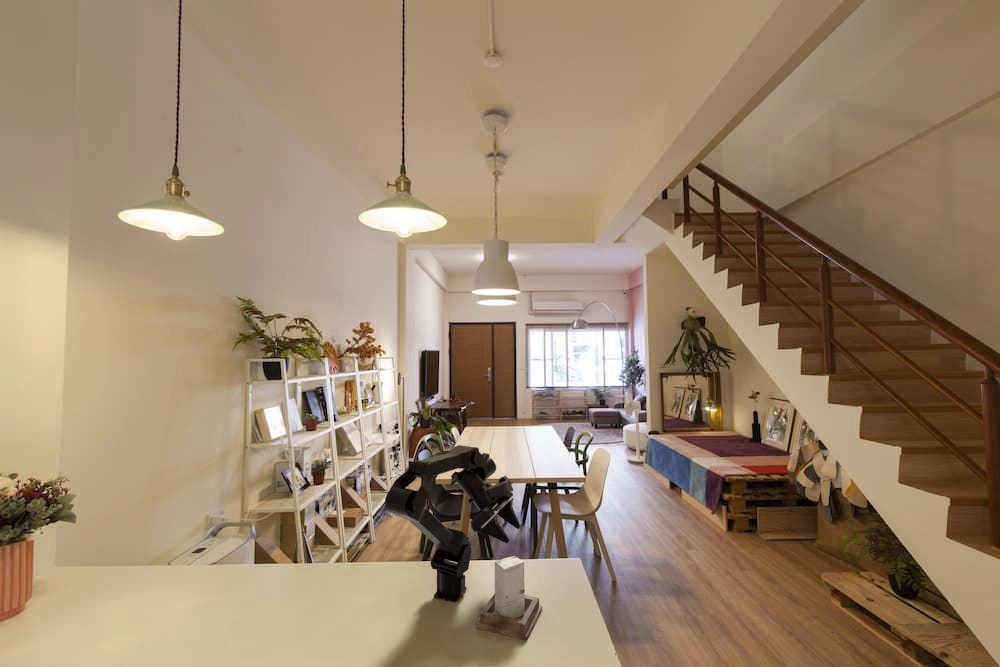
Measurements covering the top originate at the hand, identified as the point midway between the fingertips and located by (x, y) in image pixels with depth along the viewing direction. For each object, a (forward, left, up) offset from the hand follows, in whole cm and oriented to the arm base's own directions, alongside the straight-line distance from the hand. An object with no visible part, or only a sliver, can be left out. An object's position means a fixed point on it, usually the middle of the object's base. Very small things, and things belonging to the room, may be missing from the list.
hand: (514, 534), depth 117 cm
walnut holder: (+4, -13, -14) cm, 19 cm away
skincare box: (+3, -13, -13) cm, 18 cm away
